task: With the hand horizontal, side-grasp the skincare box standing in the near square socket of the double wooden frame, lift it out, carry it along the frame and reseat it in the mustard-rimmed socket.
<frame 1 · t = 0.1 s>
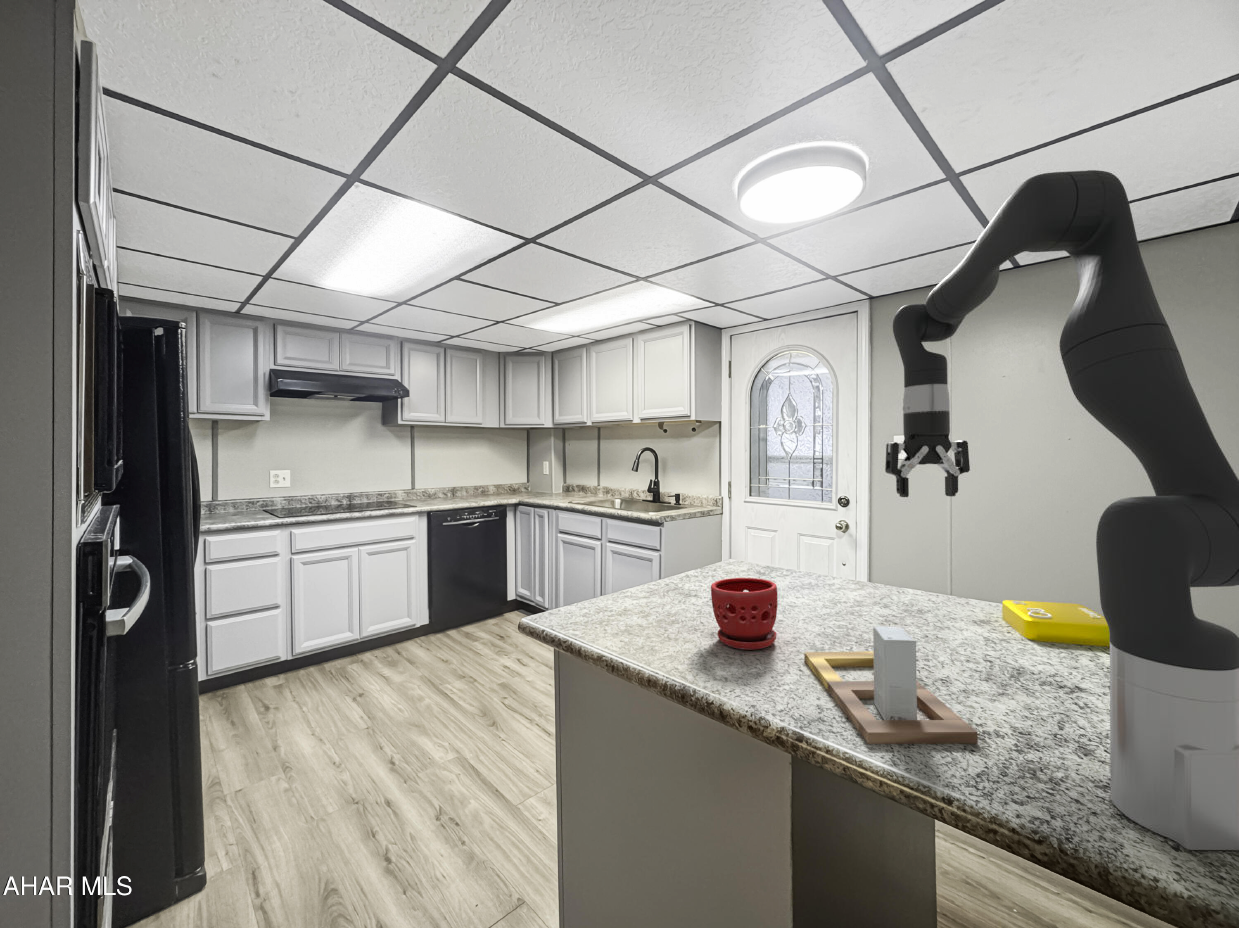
hand: (927, 496, 97), 29 cm above the countertop, tool pointing down, fingers open, 8 cm apart
skincare box: (894, 715, 75), resting in double wooden frame
element tile: (1056, 633, 106), on the countertop
double wooden frame: (876, 694, 81), on the countertop
soap dispenser: (1154, 658, 91), on the countertop
plant pot: (745, 642, 105), on the countertop
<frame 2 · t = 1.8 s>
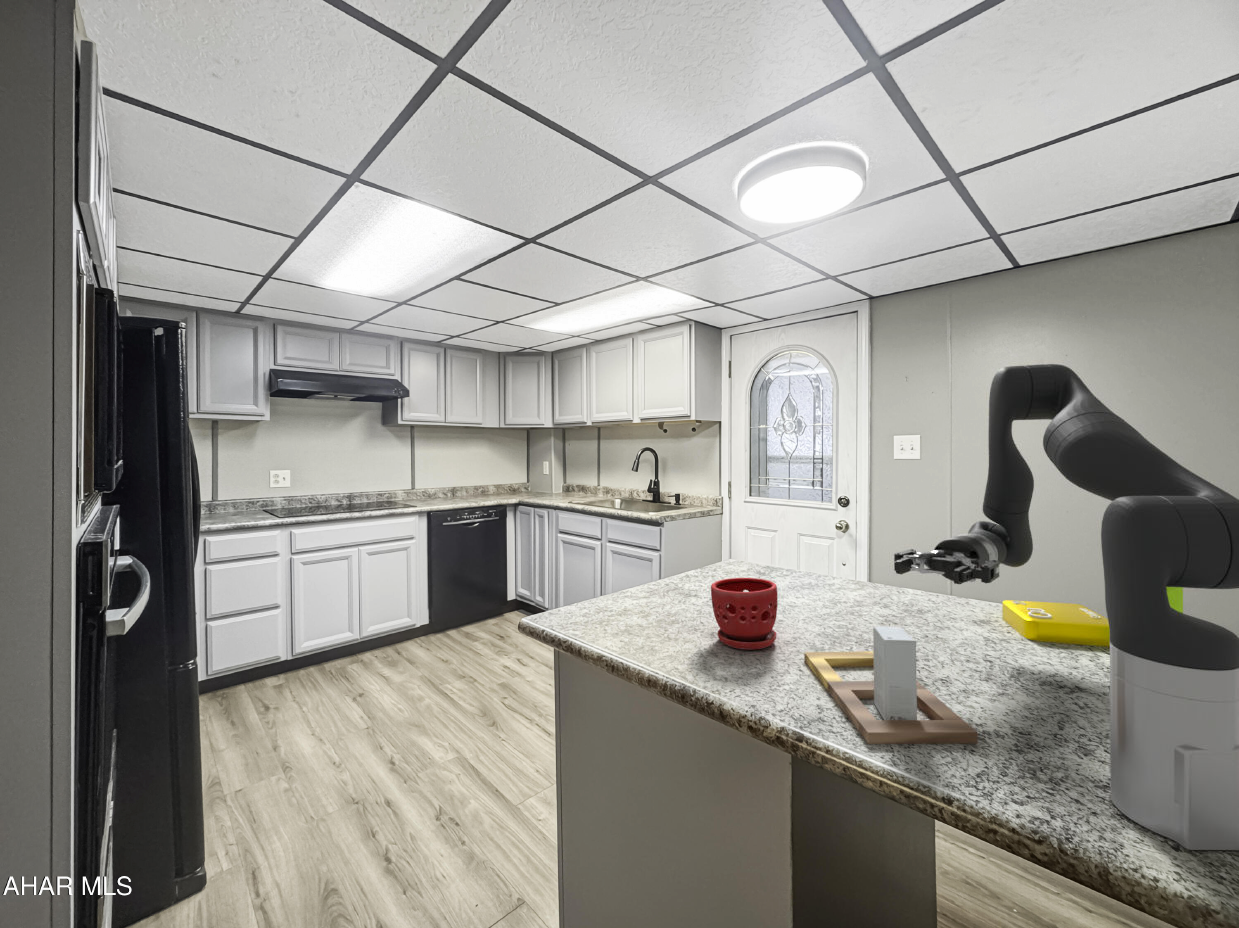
hand: (925, 572, 81), 19 cm above the countertop, tool horizontal, fingers open, 8 cm apart
nothing on the countertop moved.
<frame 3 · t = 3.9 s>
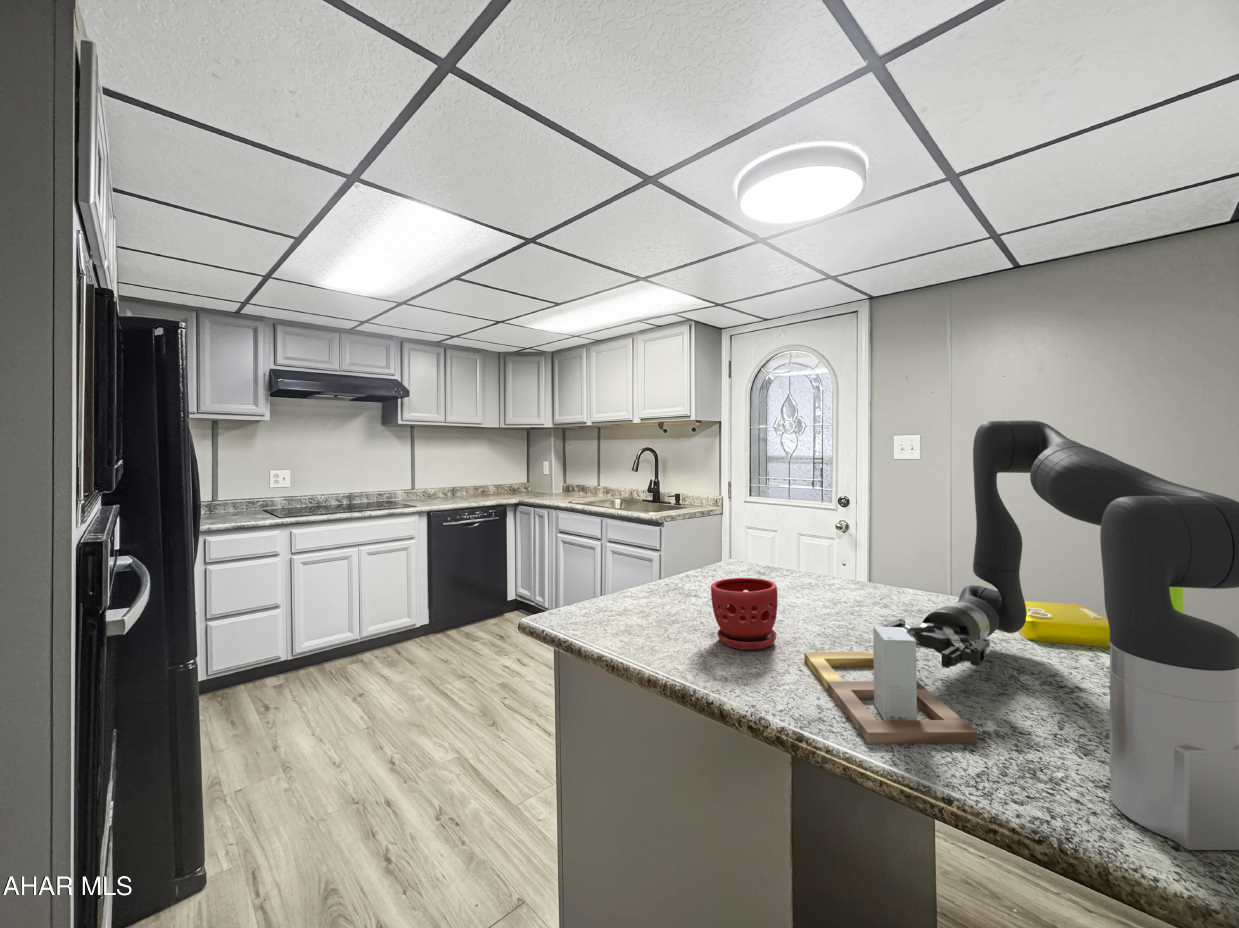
hand: (913, 652, 79), 8 cm above the countertop, tool horizontal, fingers open, 8 cm apart
nothing on the countertop moved.
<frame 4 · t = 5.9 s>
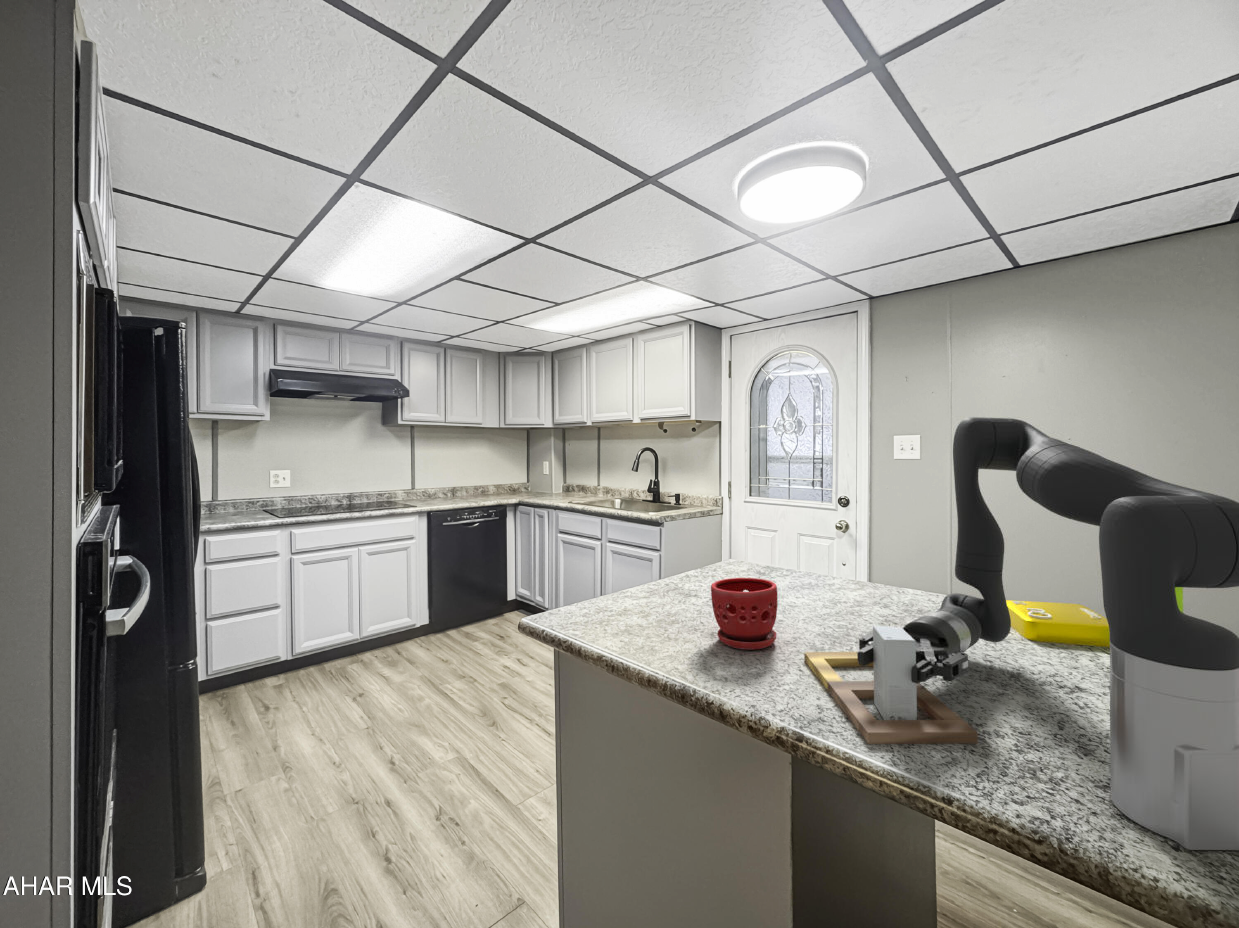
hand: (886, 667, 73), 8 cm above the countertop, tool horizontal, fingers closed on skincare box, 7 cm apart
skincare box: (894, 715, 75), resting in double wooden frame, touching gripper
everything else where it was.
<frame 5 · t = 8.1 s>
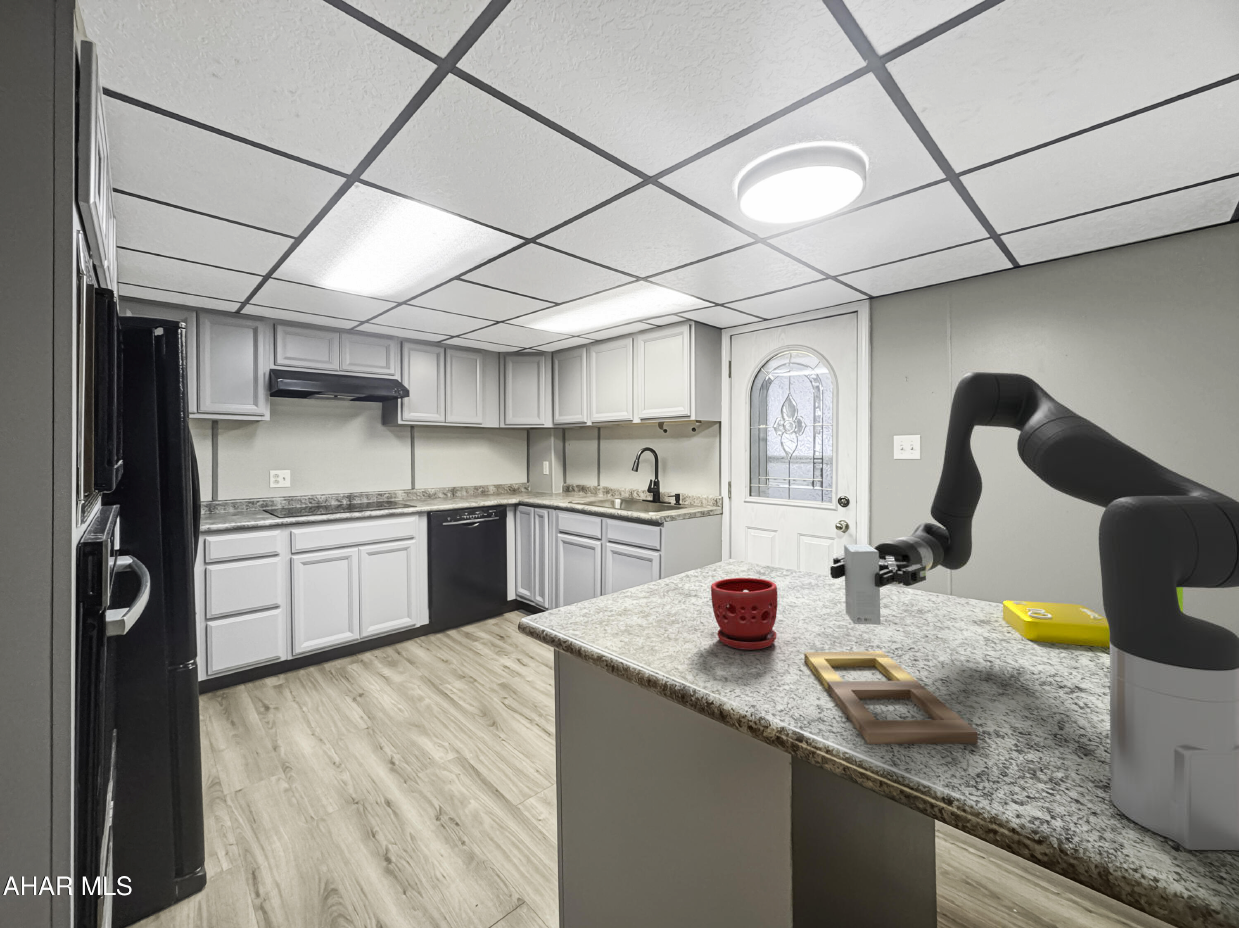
hand: (854, 576, 84), 18 cm above the countertop, tool horizontal, fingers closed on skincare box, 7 cm apart
skincare box: (862, 620, 86), point 10 cm above the countertop, touching gripper
everything else where it was.
when the fingers open (9 cm above the countertop, at t = 10.5 s): skincare box drops 1 cm, resting in double wooden frame.
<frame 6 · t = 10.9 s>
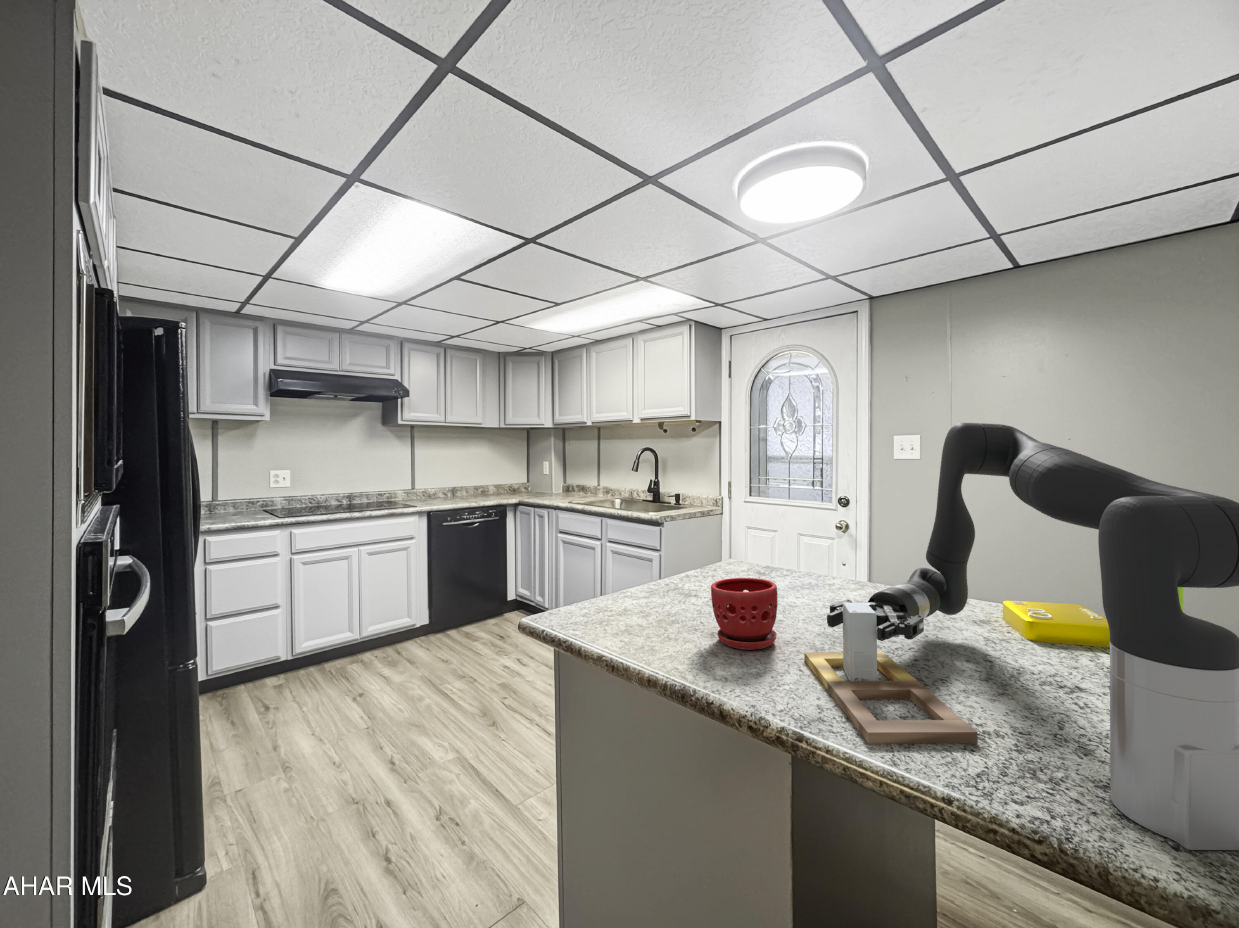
hand: (853, 627, 86), 9 cm above the countertop, tool horizontal, fingers open, 8 cm apart
skincare box: (860, 678, 87), resting in double wooden frame
everything else where it was.
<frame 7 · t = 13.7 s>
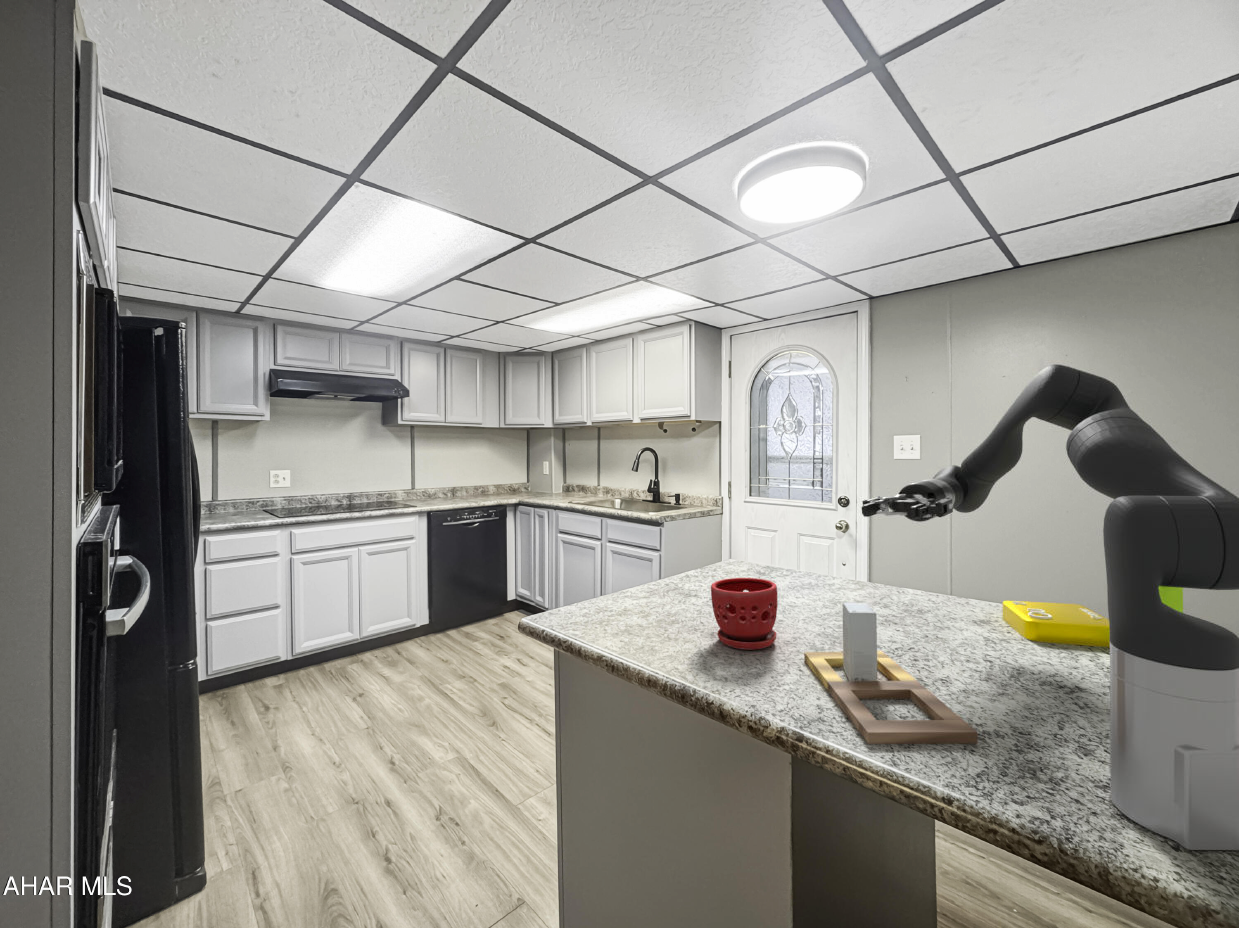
hand: (888, 512, 92), 27 cm above the countertop, tool horizontal, fingers open, 8 cm apart
nothing on the countertop moved.
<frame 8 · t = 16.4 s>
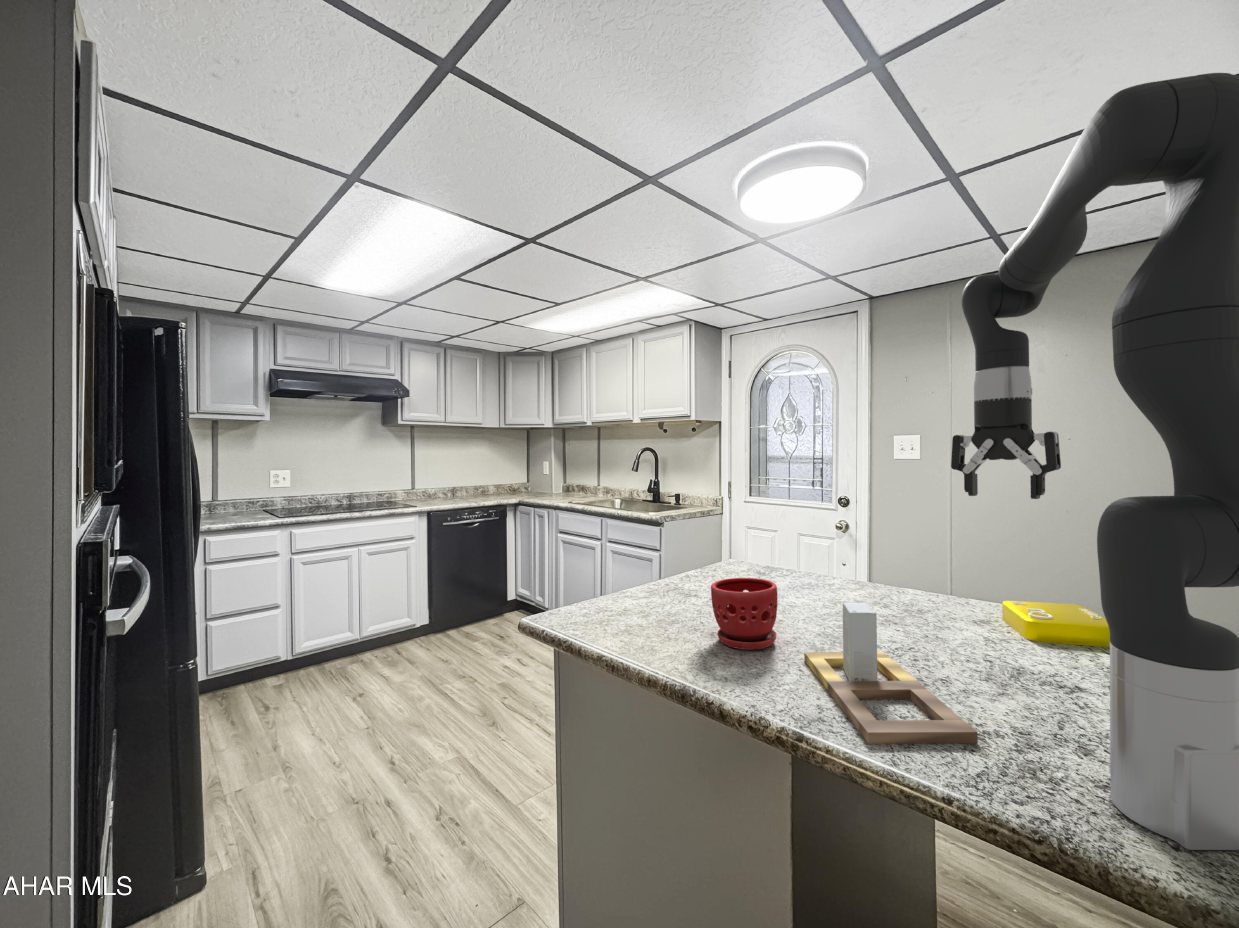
hand: (1003, 497, 84), 30 cm above the countertop, tool pointing down, fingers open, 8 cm apart
nothing on the countertop moved.
at the end: skincare box 0.2 cm from the target spot on the double wooden frame, point 0.0 cm above the double wooden frame's base; skincare box tilted 0°; the gripper is holding nothing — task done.
